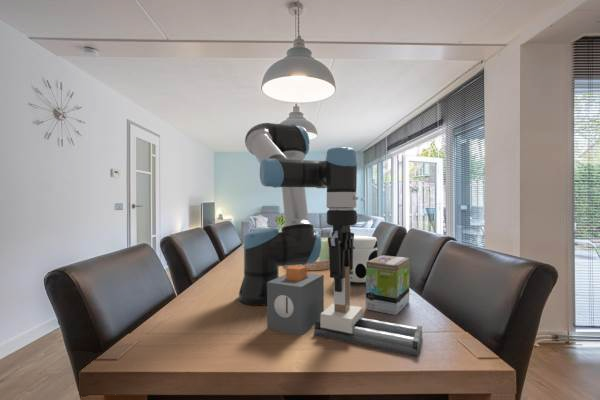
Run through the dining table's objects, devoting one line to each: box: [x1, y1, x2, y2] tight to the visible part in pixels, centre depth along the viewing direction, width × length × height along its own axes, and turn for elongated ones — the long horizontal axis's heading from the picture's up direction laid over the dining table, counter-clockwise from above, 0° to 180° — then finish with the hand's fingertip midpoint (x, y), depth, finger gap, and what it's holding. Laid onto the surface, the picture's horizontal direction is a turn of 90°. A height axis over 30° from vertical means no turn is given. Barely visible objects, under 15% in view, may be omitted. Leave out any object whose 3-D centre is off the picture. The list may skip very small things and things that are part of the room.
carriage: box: [320, 266, 364, 333], centre depth 78 cm, size 8×9×14 cm
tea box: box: [365, 254, 411, 316], centre depth 98 cm, size 15×10×15 cm, turn 148°
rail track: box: [313, 317, 423, 357], centre depth 75 cm, size 24×10×3 cm, turn 63°
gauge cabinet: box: [266, 272, 325, 337], centre depth 84 cm, size 10×14×12 cm
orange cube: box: [285, 265, 308, 281], centre depth 84 cm, size 4×4×4 cm
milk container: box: [350, 235, 378, 285], centre depth 127 cm, size 17×17×18 cm
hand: (342, 301), depth 78 cm, fingers closed on carriage, 3 cm apart
